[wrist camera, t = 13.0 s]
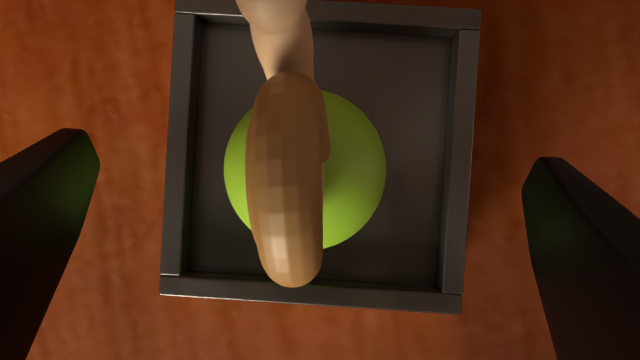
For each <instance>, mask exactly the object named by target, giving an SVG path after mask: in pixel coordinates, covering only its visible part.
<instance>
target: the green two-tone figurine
mask: <svg viewBox="0 0 640 360" xmlns="http://www.w3.org/2000/svg"><path fill="white" fill-rule="evenodd" d="M236 3H237V5H238V8H239V10H240V11H241V13H242V15H243V16H244V17H245V19H246V20H247V21H248V22H249V24H250V30H251V35H252V39H253V43H254V47H255V50H256V53H257V56H258V58H259V61H260V63H261V65H262V67H263V69H264V72H265V75H266V78H267V81H266V82H265V83H264V84H263V85H262V87H261V88H260V90H259V92H258V94H257V96H256V99H255V101H254V105H253V107H252V108H251V109H250V110H249V111H248V112H247V113H246V114H245V115H244V116H243V118H242V119H241V120H240V121H239V123H238V124H237V126H236V127H235V129H234V131H233V133H232V135H231V137H230V139H229V142H228V145H227V149H226V153H225V159H224V180H225V186H226V190H227V194H228V197H229V199H230V202H231V204H232V206H233V208H234V210H235V211H236V213H237V215H238V216H239V217H240V219H241V220H242V221H243V222H244V224H245V225H246V226H247V227H248V228H249V229H250V230H252V234H253V237H254V240H255V242H256V244H257V249H258V253H259V257H260V260H261V263H262V266H263V268H264V270H265V271H266V273H267V274H268V276H269V277H270V278H271V279H272V280H273V281H274V282H276V283H277V284H279V285H281V286H284V287H292V288H293V287H300V286H303V285H305V284H307V283H309V282H310V281H311V280H312V279H313V278H314V277H315V276H316V275H317V273H318V272H319V270H320V267H321V264H322V257H323V249H324V248H327V247H331V246H334V245H336V244H338V243H341V242H343V241H344V240H346V239H348V238H349V237H351V236H352V235H354V234H355V233H356V232H357V231H359V230H360V229H361V228H362V227H363V226H364V225H365V224H366V223H367V221H368V220H369V219H370V218H371V216H372V215H373V213H374V212H375V210H376V208H377V206H378V204H379V202H380V200H381V197H382V194H383V190H384V186H385V181H386V159H385V153H384V149H383V145H382V142H381V139H380V137H379V135H378V133H377V131H376V129H375V127H374V126H373V124H372V123H371V121H370V120H369V119H368V118H367V116H366V115H365V114H364V113H363V112H362V111H361V110H360V109H359V108H358V107H356V106H355V105H354V104H352V103H351V102H349V101H348V100H346V99H344V98H343V97H341V96H339V95H336V94H334V93H331V92H328V91H324V90H320V88H319V87H318V85H317V84H316V83H315V80H314V68H313V54H314V48H313V36H312V29H311V24H310V20H309V17H308V13H307V10H306V4H307V0H236Z"/></svg>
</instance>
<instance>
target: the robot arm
mask: <svg viewBox="0 0 640 360" xmlns="http://www.w3.org/2000/svg"><path fill="white" fill-rule="evenodd" d="M99 169H100V162H99V158H98V156H97V154H96V151H95V149H94V147H93V145H92V142H91V140H90V138H89V136H88V134H87V133H86V132H85V131H84V130H82V129H71V128H63V129H60V130H58V131H56V132H54V133H53V134H51V135H49V136H47V137H45V138H44V139H42V140H40V141H38V142H37V143H35V144H33V145H31V146H29V147H28V148H26V149H24V150H22V151H20V152H19V153H17V154H15V155H13V156H12V157H10V158H8V159H6V160H4V161H3V162H1V163H0V360H25V359H26V357H27V355H28V353H29V350H30V348H31V346H32V343H33V341H34V339H35V337H36V334H37V332H38V330H39V327H40V325H41V323H42V321H43V318H44V316H45V314H46V311H47V309H48V307H49V304H50V302H51V300H52V298H53V295H54V293H55V291H56V288H57V286H58V284H59V282H60V279H61V277H62V275H63V272H64V270H65V268H66V266H67V263H68V261H69V259H70V256H71V254H72V252H73V250H74V247H75V245H76V243H77V240H78V238H79V235H80V232H81V229H82V227H83V224H84V220H85V217H86V214H87V210H88V207H89V204H90V200H91V197H92V194H93V190H94V187H95V184H96V180H97V177H98V174H99ZM522 203H523V210H524V217H525V224H526V231H527V238H528V245H529V252H530V257H531V263H532V267H533V271H534V275H535V279H536V283H537V286H538V290H539V294H540V297H541V301H542V305H543V308H544V312H545V316H546V319H547V323H548V327H549V331H550V334H551V338H552V342H553V345H554V349H555V353H556V356H557V360H640V219H639V218H638V217H637V216H636V215H634V214H633V213H632V212H630V211H629V210H628V209H627V208H625V207H624V206H623V205H622V204H620V203H619V202H618V201H616V200H615V199H614V198H613V197H611V196H610V195H609V194H607V193H606V192H605V191H604V190H602V189H601V188H600V187H599V186H597V185H596V184H595V183H593V182H592V181H591V180H590V179H588V178H587V177H586V176H584V175H583V174H582V173H581V172H579V171H578V170H577V169H575V168H574V167H573V166H572V165H570V164H569V163H568V162H567V161H565V160H564V159H562V158H558V157H540V158H538V159H537V160H536V162H535V163H534V165H533V167H532V169H531V171H530V173H529V175H528V177H527V179H526V181H525V182H524V185H523V187H522Z"/></svg>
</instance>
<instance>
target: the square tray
mask: <svg viewBox="0 0 640 360" xmlns="http://www.w3.org/2000/svg"><path fill="white" fill-rule="evenodd" d="M306 10H307V13H308V17H309V20H310V24H311V29H312V36H313V48H314V54H313V68H314V80H315V83H316V84H317V85H318V87H319V88H320V90H324V91H328V92H331V93H334V94H336V95H339V96H341V97H343V98H344V99H346V100H348V101H349V102H351V103H352V104H354V105H355V106H356V107H358V108H359V109H360V110H361V111H362V112H363V113H364V114H365V115H366V116H367V118H368V119H369V120H370V121H371V123H372V124H373V126H374V127H375V129H376V131H377V133H378V135H379V137H380V139H381V142H382V145H383V149H384V153H385V159H386V181H385V186H384V190H383V194H382V197H381V200H380V202H379V204H378V206H377V208H376V210H375V212H374V213H373V215H372V216H371V218H370V219H369V220H368V221H367V223H366V224H365V225H364V226H363V227H362V228H361V229H360V230H359V231H357V232H356V233H355V234H354V235H352V236H351V237H349V238H348V239H346V240H344V241H343V242H341V243H338V244H336V245H334V246H331V247H327V248H324V249H323V257H322V264H321V267H320V270H319V272H318V273H317V275H316V276H315V277H314V278H313V279H312V280H311V281H310V282H309V283H307V284H305V285H303V286H300V287H293V288H292V287H284V286H281V285H279V284H277V283H276V282H274V281H273V280H272V279H271V278H270V277H269V276H268V274H267V273H266V271H265V270H264V268H263V266H262V263H261V260H260V257H259V253H258V249H257V244H256V242H255V240H254V237H253V234H252V230H250V229H249V228H248V227H247V226H246V225H245V224H244V222H243V221H242V220H241V219H240V217H239V216H238V215H237V213H236V211H235V210H234V208H233V206H232V204H231V202H230V199H229V197H228V194H227V190H226V186H225V180H224V159H225V153H226V149H227V145H228V142H229V139H230V137H231V135H232V133H233V131H234V129H235V127H236V126H237V124H238V123H239V121H240V120H241V119H242V118H243V116H244V115H245V114H246V113H247V112H248V111H249V110H250V109H251V108H252V107H253V105H254V101H255V99H256V96H257V94H258V92H259V90H260V88H261V87H262V85H263V84H264V83H265V82H266V81H267V78H266V75H265V72H264V69H263V67H262V65H261V63H260V61H259V58H258V56H257V53H256V50H255V47H254V43H253V39H252V35H251V30H250V24H249V22H248V21H247V20H246V19H245V17H244V16H243V15H242V13H241V11H240V10H239V8H238V5H237V3H236V0H175V15H174V32H173V50H172V67H171V85H170V103H169V121H168V138H167V156H166V174H165V191H164V209H163V227H162V245H161V262H160V274H161V276H160V284H159V295H165V296H180V297H196V298H211V299H226V300H241V301H257V302H272V303H287V304H303V305H318V306H333V307H349V308H364V309H379V310H395V311H410V312H425V313H441V314H456V315H459V314H461V310H462V294H463V284H464V269H465V254H466V239H467V224H468V209H469V194H470V179H471V163H472V148H473V133H474V118H475V103H476V88H477V73H478V58H479V43H480V31H479V30H480V26H481V9H468V8H450V7H432V6H414V5H397V4H379V3H361V2H343V1H326V0H307V4H306Z"/></svg>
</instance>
